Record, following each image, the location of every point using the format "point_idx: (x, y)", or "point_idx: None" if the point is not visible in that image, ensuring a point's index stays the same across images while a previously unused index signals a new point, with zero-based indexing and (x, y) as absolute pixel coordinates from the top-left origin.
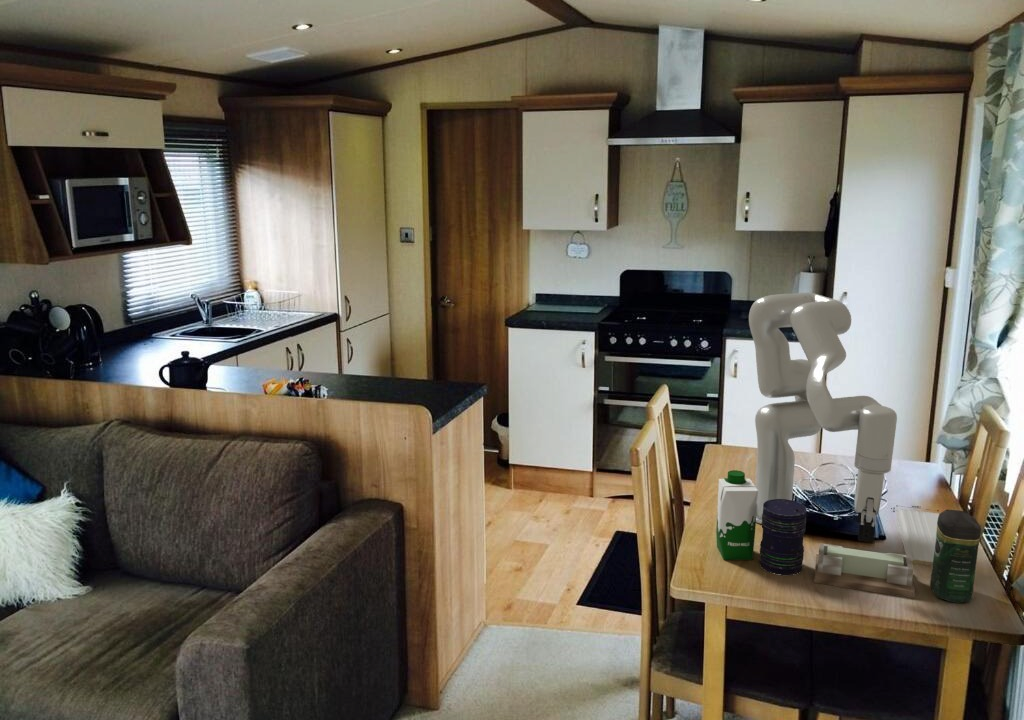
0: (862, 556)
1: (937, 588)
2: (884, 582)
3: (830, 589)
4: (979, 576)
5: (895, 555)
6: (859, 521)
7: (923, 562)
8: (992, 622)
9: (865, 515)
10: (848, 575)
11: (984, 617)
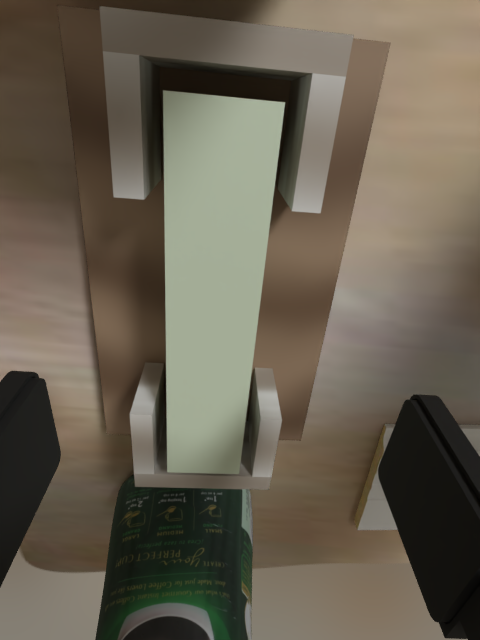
0: (171, 319)
1: (131, 495)
2: (140, 355)
3: (35, 112)
4: (312, 550)
5: (235, 452)
6: (405, 411)
7: (375, 463)
8: (59, 545)
9: (420, 501)
10: (154, 217)
11: (77, 536)
